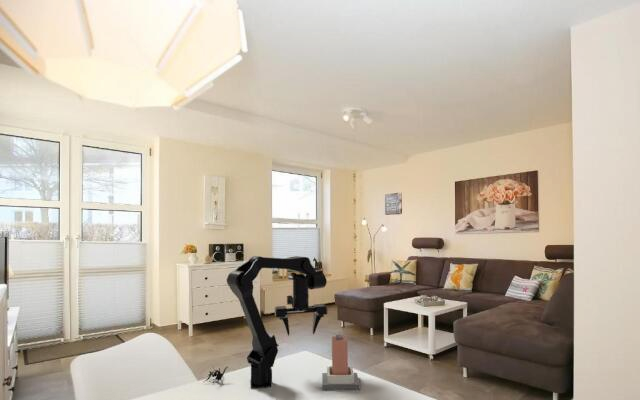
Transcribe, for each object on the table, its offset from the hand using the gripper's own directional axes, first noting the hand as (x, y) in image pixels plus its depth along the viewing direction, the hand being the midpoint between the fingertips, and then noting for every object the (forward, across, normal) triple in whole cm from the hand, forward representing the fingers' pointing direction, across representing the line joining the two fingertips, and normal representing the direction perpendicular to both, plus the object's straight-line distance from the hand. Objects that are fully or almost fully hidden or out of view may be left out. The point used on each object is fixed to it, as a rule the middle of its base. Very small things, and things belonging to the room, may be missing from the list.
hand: (301, 334), depth 139 cm
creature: (+13, +30, +1) cm, 33 cm away
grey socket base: (+13, -11, +14) cm, 22 cm away
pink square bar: (+12, -11, +13) cm, 21 cm away
